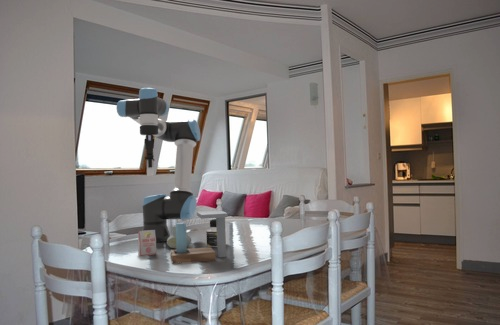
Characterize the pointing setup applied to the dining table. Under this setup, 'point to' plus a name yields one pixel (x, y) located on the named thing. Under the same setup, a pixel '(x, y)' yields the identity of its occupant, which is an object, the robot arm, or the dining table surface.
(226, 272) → the dining table surface
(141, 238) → the tea box
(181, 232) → the peg
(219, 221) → the grey angled stand
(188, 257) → the socket board
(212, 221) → the medicine bottle
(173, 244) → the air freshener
